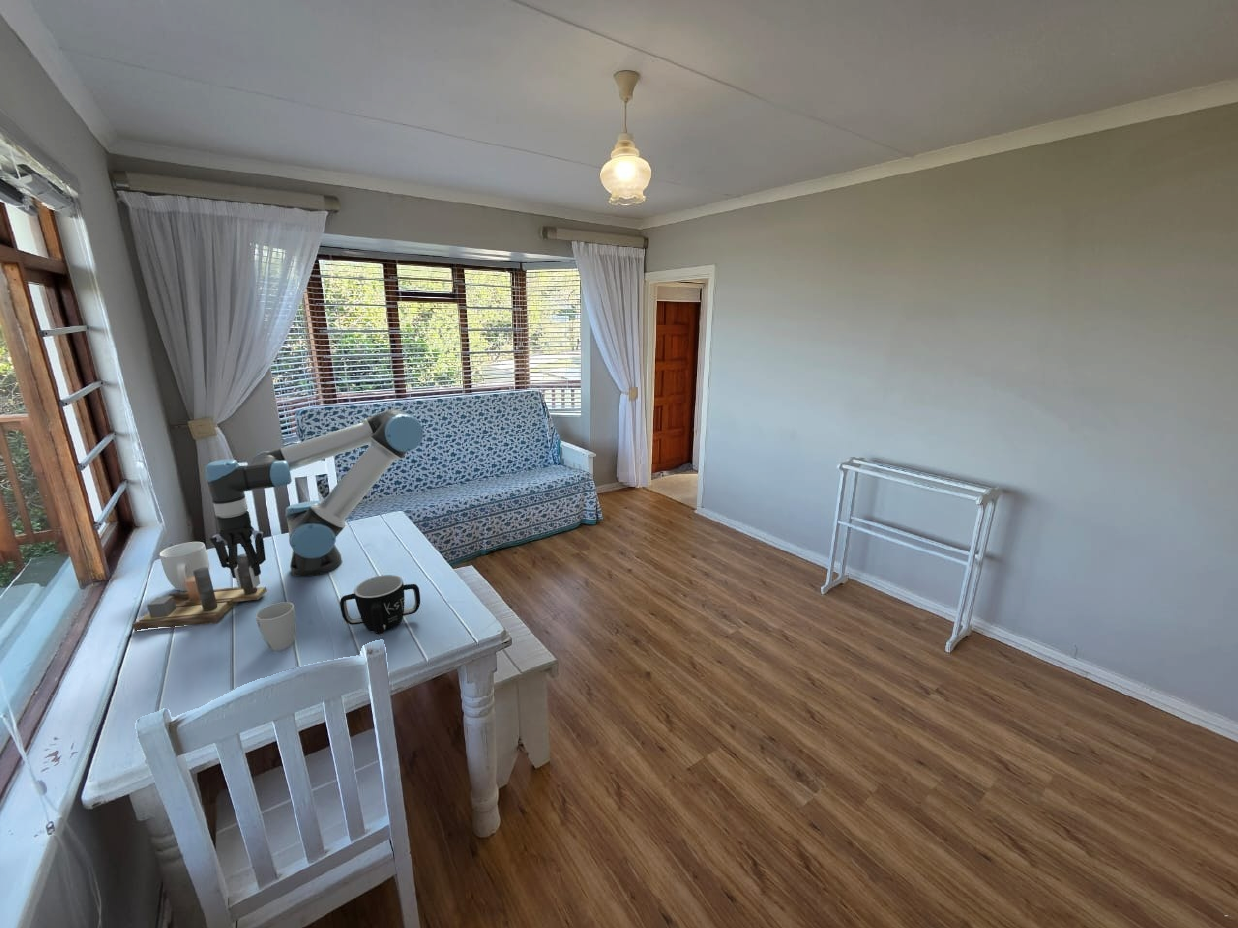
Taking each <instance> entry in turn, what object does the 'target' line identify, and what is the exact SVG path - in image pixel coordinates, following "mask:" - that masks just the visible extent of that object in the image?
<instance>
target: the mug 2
mask: <svg viewBox="0 0 1238 928" xmlns="http://www.w3.org/2000/svg"><path fill="white" fill-rule="evenodd" d="M409 590H413V596H414V604H413V606H412V607H410V608H406V609H405V600H406V599H405V591H409ZM351 600H355V604H356V608H357V610H358V614H359V616H360V617H357V618H353V617H351V615H350V613H349V610H348V605H347V601H351ZM420 606H421V593H420V589H419V586H418V585H417V583H407V584H405V583H404V579H403V578H402V577H401V576H397V575H392V574H385V575H379V576H374V577H371V578H367V579H366V580H363V581H362V582H360V583H359V584H357V585H356V586H355V587H354V589H353V593H349V594H345V595H343V596H342V597H341V598H340V601H339V607H340V612H341V615H342V616H341V617H342V618H343V619H344V622H346V623H347V624H348V625H350V626H351V625H352V626H354V625H362V624H363V625H364V626H365V629H367V631H369V632H372V633H375V634H376V635H382V634H384V633H385V632H388V631H390V630H393V629H395V628H397V627H398V626H399V625H400V624H401V623H402V621H403V619H404V617H405V616H409V615H413V614H415V613H416V612H418V610H419V609H420Z"/></svg>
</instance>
